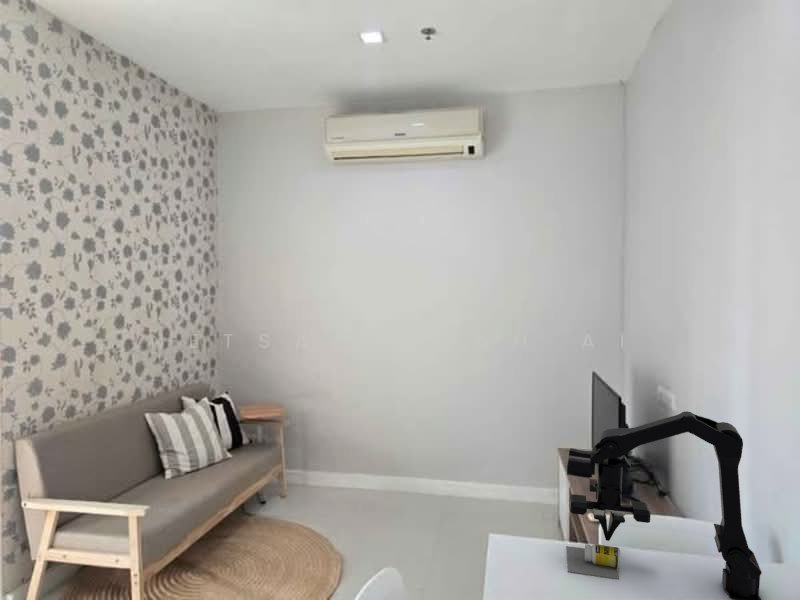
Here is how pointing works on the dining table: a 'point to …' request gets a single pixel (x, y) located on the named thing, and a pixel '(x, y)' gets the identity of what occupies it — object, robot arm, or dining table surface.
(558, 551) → the dining table surface
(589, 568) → the mat
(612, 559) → the supplement bottle
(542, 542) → the dining table surface
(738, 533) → the robot arm
